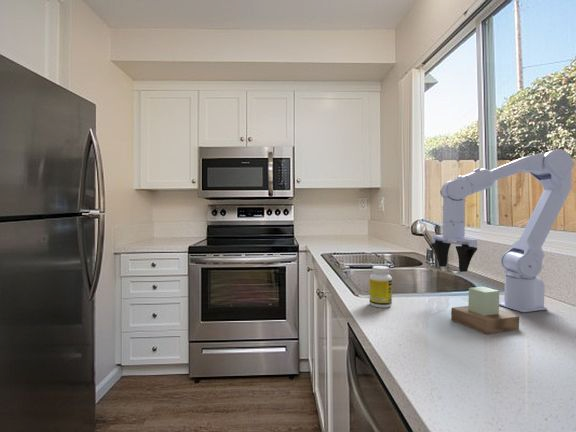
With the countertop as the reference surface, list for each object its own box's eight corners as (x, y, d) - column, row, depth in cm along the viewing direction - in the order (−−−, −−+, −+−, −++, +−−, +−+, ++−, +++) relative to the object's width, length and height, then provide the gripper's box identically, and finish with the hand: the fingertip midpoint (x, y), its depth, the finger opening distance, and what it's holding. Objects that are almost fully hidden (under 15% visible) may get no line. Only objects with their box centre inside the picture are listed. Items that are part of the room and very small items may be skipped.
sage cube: (482, 308, 83) (482, 286, 83) (498, 313, 79) (499, 290, 79) (468, 309, 82) (468, 287, 82) (484, 315, 78) (484, 292, 78)
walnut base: (481, 315, 87) (482, 304, 87) (518, 329, 78) (519, 316, 77) (451, 319, 84) (451, 307, 84) (486, 334, 74) (486, 320, 74)
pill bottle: (392, 309, 92) (393, 269, 92) (369, 307, 94) (370, 268, 93) (390, 302, 98) (391, 265, 98) (369, 301, 100) (369, 264, 99)
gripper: (424, 220, 101) (423, 265, 102) (463, 223, 88) (462, 274, 88) (443, 220, 104) (442, 264, 104) (483, 223, 90) (482, 273, 90)
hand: (452, 268), depth 96 cm, fingers open, 7 cm apart
